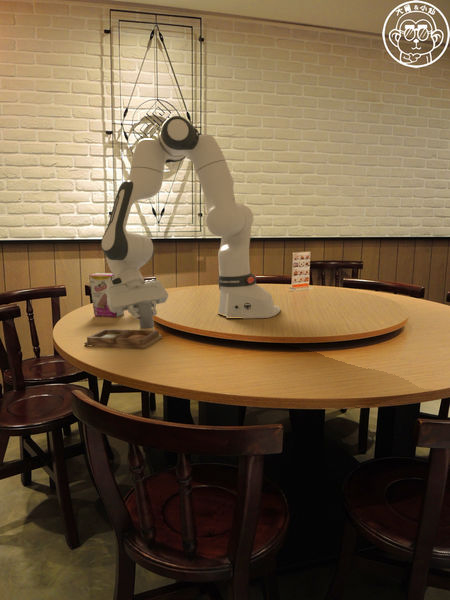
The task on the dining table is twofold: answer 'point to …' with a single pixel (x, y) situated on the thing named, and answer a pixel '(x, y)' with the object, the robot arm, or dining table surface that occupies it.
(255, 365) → the dining table surface
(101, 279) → the candy bar box
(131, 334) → the wooden compartment tray
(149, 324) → the sleeve
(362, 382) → the dining table surface
